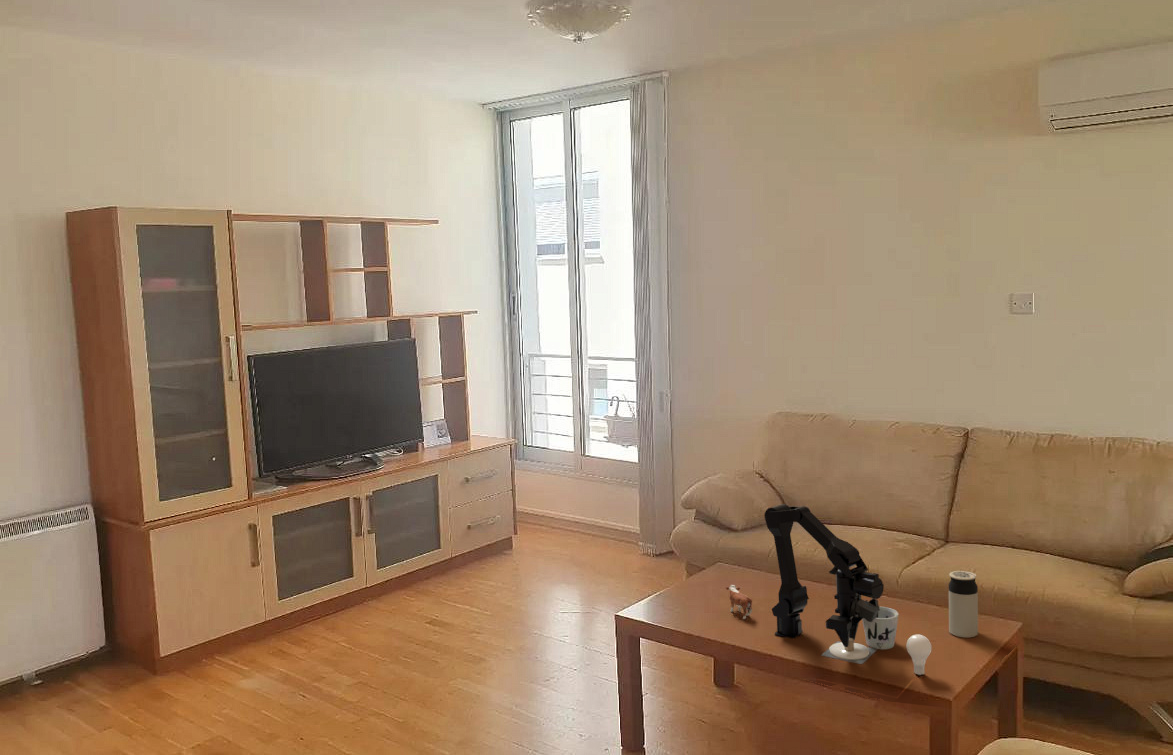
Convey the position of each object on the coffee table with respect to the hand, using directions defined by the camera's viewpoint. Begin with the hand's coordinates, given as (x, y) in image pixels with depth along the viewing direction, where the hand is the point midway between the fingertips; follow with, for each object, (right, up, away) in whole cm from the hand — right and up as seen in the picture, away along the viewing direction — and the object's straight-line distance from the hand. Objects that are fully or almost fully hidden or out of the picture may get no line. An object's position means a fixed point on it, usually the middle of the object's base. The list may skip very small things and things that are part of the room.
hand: (849, 643), depth 263 cm
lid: (0, -3, 0) cm, 3 cm away
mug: (+11, -2, +7) cm, 13 cm away
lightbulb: (+14, -4, -16) cm, 22 cm away
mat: (0, -3, 0) cm, 3 cm away
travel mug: (+37, 0, +11) cm, 39 cm away
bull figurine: (-26, -1, +36) cm, 44 cm away
